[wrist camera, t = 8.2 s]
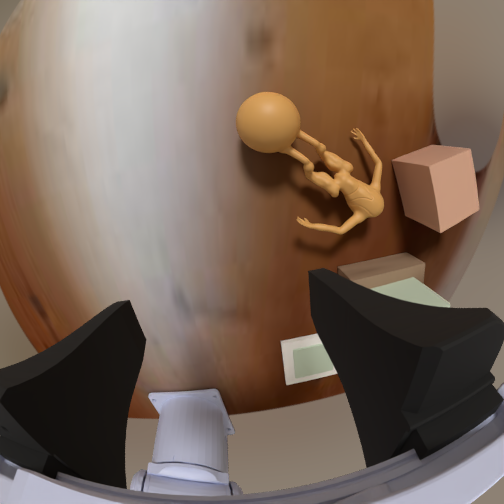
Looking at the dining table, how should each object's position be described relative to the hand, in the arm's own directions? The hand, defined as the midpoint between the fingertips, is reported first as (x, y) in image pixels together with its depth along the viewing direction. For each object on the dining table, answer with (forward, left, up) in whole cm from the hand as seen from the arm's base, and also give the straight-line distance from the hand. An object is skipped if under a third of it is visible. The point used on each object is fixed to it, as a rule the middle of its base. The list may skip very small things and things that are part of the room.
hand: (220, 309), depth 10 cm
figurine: (+9, -3, -7) cm, 11 cm away
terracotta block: (+2, -17, -10) cm, 20 cm away
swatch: (-14, -6, -10) cm, 18 cm away
